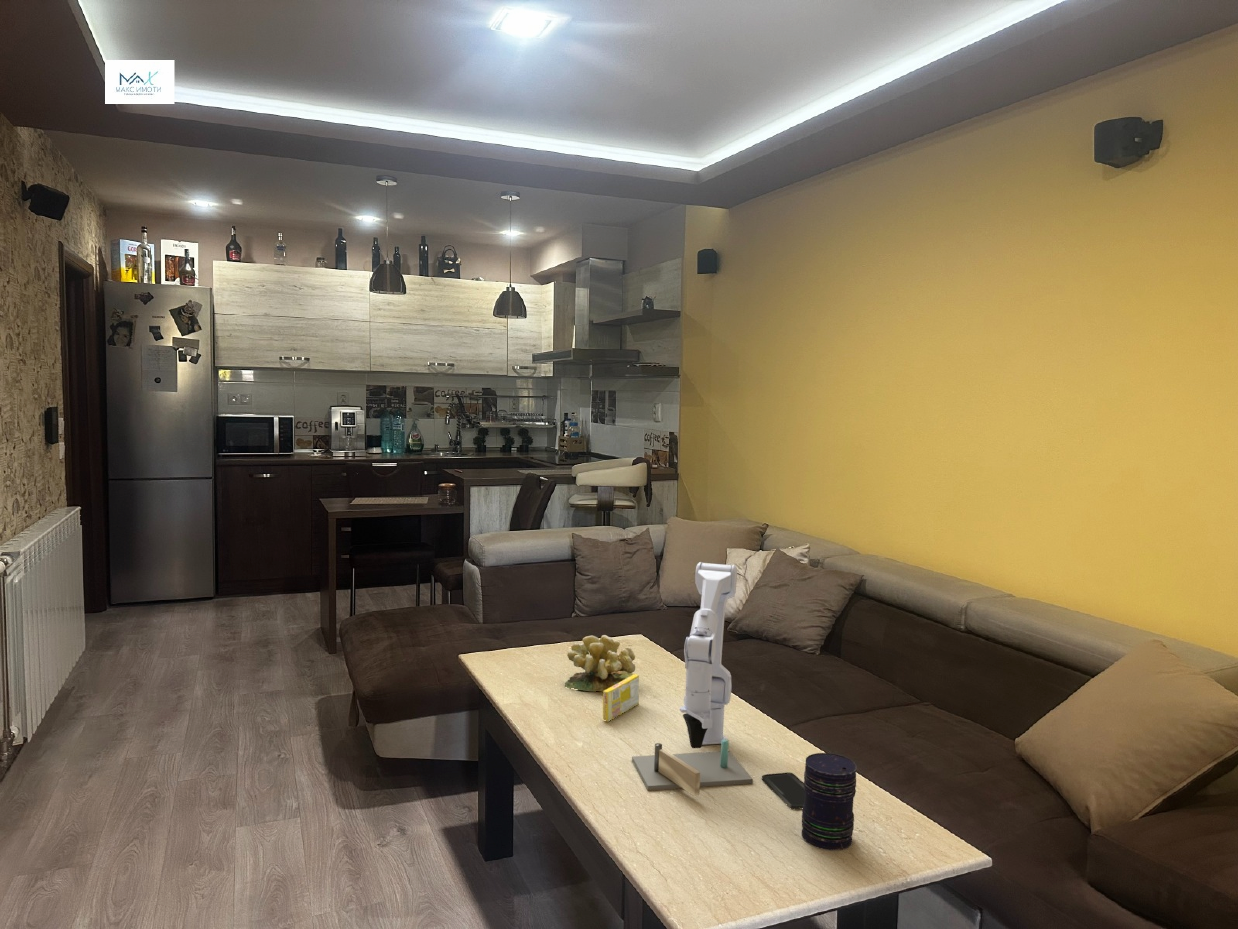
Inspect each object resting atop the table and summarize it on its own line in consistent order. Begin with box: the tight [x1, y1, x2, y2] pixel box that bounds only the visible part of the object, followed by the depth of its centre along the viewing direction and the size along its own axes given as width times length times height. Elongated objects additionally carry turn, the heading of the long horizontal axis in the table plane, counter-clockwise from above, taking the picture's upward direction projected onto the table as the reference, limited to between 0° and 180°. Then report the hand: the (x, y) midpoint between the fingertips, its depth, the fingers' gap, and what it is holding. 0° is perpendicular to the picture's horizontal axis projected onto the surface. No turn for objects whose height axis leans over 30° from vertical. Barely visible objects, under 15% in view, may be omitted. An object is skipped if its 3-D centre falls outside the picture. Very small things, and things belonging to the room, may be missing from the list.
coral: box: [564, 634, 636, 692], centre depth 248 cm, size 19×23×15 cm
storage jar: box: [801, 752, 857, 852], centre depth 163 cm, size 10×10×15 cm
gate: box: [658, 748, 701, 797], centre depth 182 cm, size 1×13×5 cm, turn 32°
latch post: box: [720, 739, 729, 768], centre depth 192 cm, size 2×2×7 cm
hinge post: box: [654, 742, 663, 772], centre depth 188 cm, size 2×2×7 cm
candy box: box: [602, 673, 640, 722], centre depth 225 cm, size 16×2×8 cm, turn 149°
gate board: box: [631, 750, 754, 791], centre depth 191 cm, size 15×24×1 cm, turn 102°
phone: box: [761, 772, 805, 811], centre depth 183 cm, size 8×1×15 cm
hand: (695, 747), depth 190 cm, fingers closed
